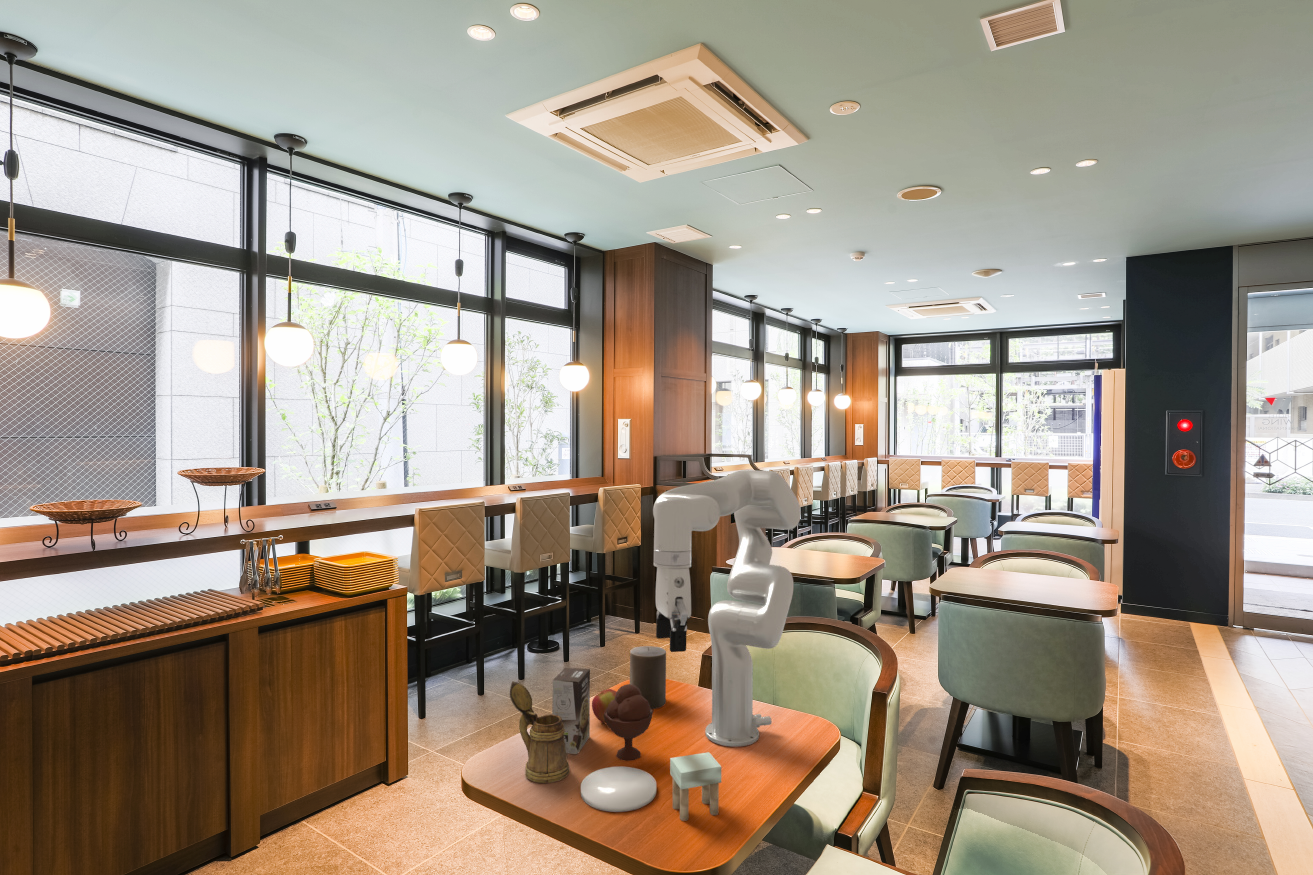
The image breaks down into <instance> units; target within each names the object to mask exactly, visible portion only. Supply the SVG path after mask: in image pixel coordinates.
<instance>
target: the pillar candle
mask: <svg viewBox="0 0 1313 875" xmlns="http://www.w3.org/2000/svg"><path fill="white" fill-rule="evenodd" d="M629 651H630V652H629V654H630V655H629V657H630V658H629V684H631V685H635V686H636V687H638V689H639V690H640V691H641V694H642V696H643V697H644V698H645V699H646V700H647V701H648V702H649V704H650V708H651V709H652V710H656V709H657V710H658V709H659V708H662V707H664V706H665V705H666V703H667V702H666V698H667V695H666V693H667V691H666V690H667V687H666V686H667V680H666V679H667V650H666V649H664V648H663V647H659V646H653V645H652V646H651V645H646V646H645V645H642V646H636V647H632V648H631V649H630V650H629Z"/></svg>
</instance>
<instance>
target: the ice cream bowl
mask: <svg viewBox="0 0 1313 875" xmlns="http://www.w3.org/2000/svg"><path fill="white" fill-rule="evenodd" d="M653 714H654V709H651V708H650V704H649V702H648V701H647V700H646V699H645V698H644V697H643V696H642V694H641V691H640V690H639V689H638V687H636V686H635V685H631V684H630V683H627V684H623V685H622V686H620V687H619V688H618V689H617V691H616V695H615V699H614V700H612V701H611V702H610V704H609V705H608V708H606V710H605V712H604V719H605V722H606V723H605V724H606V727H607V728H608V729H609V730H610V731H611V732H612V733H614V734H615V735H616V736H617V737H619V738H623V740H624V746H623V747H621V748H620V749H618V750H617V752H616V755H615V757H616V758H617V759H618V760H620V761H624V762H633V761H636V760H638V759H639V758H641V755H642V754H641V751H640V750H639V749H638V748H636V747H634V746H633V739H634V738H637V737H639V736H641V735H642V734H644V733H645V732H646V731H647V730H648V729H649V727H650V724H651V723H652V719H653Z"/></svg>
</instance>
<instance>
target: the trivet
mask: <svg viewBox="0 0 1313 875" xmlns="http://www.w3.org/2000/svg"><path fill="white" fill-rule="evenodd" d="M656 795H657V781H656V779H655V777H653V775H651V774H650V773H648V772H647V771H645V770H642V769H639V768H636V767H630V766H610V767H605V768H600V769H597V770H595V771H593V772H590V773H589V774H588V775H587V776H585V777H584V778H583V780H582V781H581V783H580V796H581V799H582V801H583V802H584V803H585V804H586V805H587V806H590V807H591V808H593V809H596V810H599V811H603V812H613V813H622V812H629V811H630V812H631V811H635V810H639V809H640V808H643V807H645V806H647V805H648V804H649V803H651V802H652V801H653V800H654V799H655V797H656Z"/></svg>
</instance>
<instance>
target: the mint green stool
mask: <svg viewBox="0 0 1313 875" xmlns="http://www.w3.org/2000/svg"><path fill="white" fill-rule="evenodd" d="M669 761H670V762H669V764H670V765H669V770H670V771H669V772H670V773H669V775H670V776H671V778H672V809H673V810H679V820H680V821H682V822H685V821H688V820H689V805H690V804H689V802H690V801H689V799H690V798H689V794H690V793H689V790H690V789H693V788H697V787H701V803H702V804H704V805H709V813H710V815H711V816H718V815H719V790H720V789H719V784H721V783H722V766H721V764H720V763H719V762H718V761H717V759H715V758H714V756H713V755H712V754H711V753H710V752H709V751H707V752H702V753H700V752H699V753H695V754H688V755H682V756H681V755H680V756H675V757H670V758H669Z"/></svg>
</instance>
